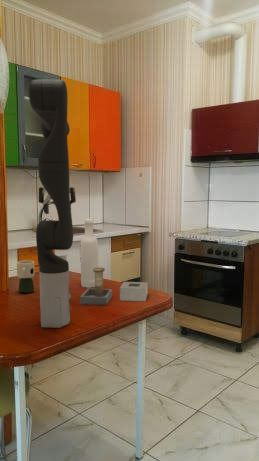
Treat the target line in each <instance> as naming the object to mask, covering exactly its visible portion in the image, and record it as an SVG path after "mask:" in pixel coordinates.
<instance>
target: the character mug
mask: <svg viewBox="0 0 259 461" xmlns="http://www.w3.org/2000/svg"><path fill="white" fill-rule="evenodd" d="M35 274H36V273H35V261H34V260H20V261H17V262H16V277H17V278H19V282H18V292H19V293H25V294H27V293H33V292H34V291H35V285H34V281H33V277H35V276H36V275H35Z"/></svg>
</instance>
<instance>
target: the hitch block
mask: <svg viewBox="0 0 259 461" xmlns="http://www.w3.org/2000/svg"><path fill="white" fill-rule="evenodd" d="M148 286H149V285H148V281H147V282H143V281H122V284H121V285H120V287H119V301H122V302H123V301H124V302H127V301H128V302H146V301H147V298H148V295H149V294H148V292H149V290H148V289H149V287H148Z"/></svg>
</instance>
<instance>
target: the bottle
mask: <svg viewBox="0 0 259 461" xmlns="http://www.w3.org/2000/svg"><path fill="white" fill-rule="evenodd" d="M79 246H80V285H81V287H82V288H85V287H86V289H93V288H95V272H94V271H93V268H99V242H98V239H97V237H96V236H95V235H94V219H92V218H86V219H84V235H83V236H82V238H81V239H80V244H79ZM92 287H93V288H92Z"/></svg>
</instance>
